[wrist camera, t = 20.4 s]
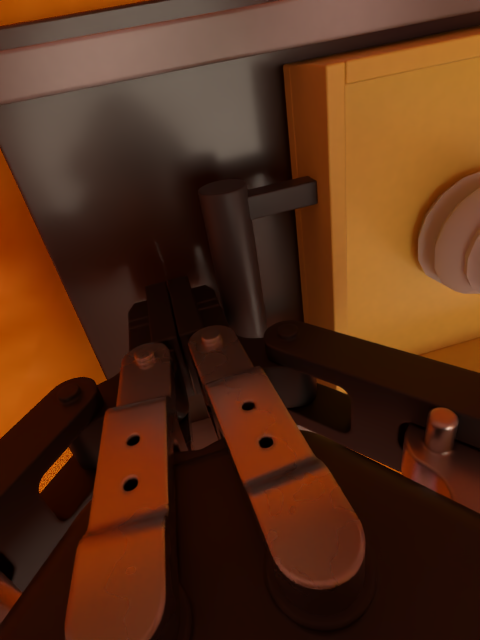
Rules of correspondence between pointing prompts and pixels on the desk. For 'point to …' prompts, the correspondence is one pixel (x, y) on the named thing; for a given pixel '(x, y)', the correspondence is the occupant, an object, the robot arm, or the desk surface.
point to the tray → (363, 196)
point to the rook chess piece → (453, 237)
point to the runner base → (170, 138)
